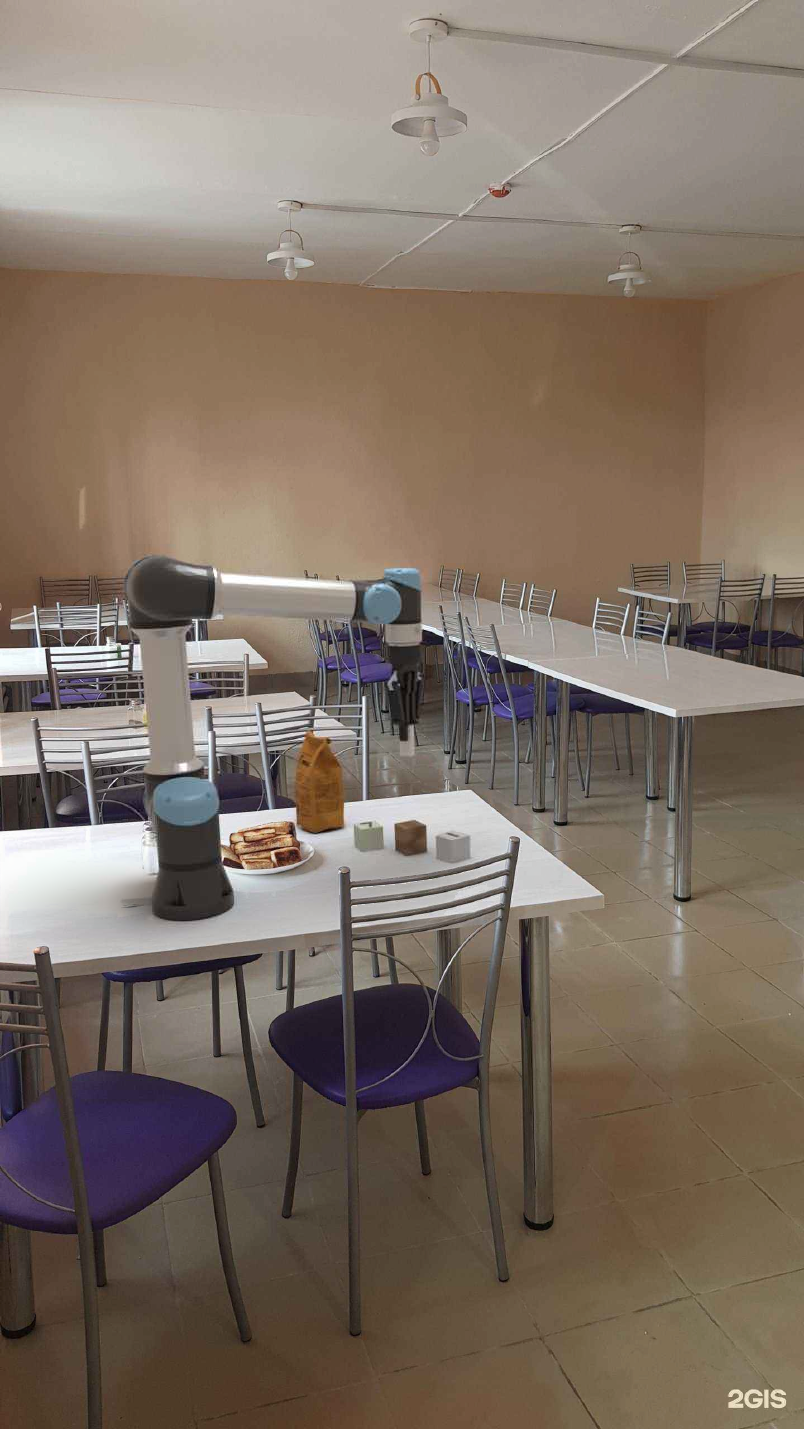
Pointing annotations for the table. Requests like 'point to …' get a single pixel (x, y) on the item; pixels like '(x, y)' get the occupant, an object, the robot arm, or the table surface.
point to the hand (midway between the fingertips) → (407, 755)
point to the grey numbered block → (453, 846)
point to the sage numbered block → (368, 836)
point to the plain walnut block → (410, 838)
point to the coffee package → (318, 786)
